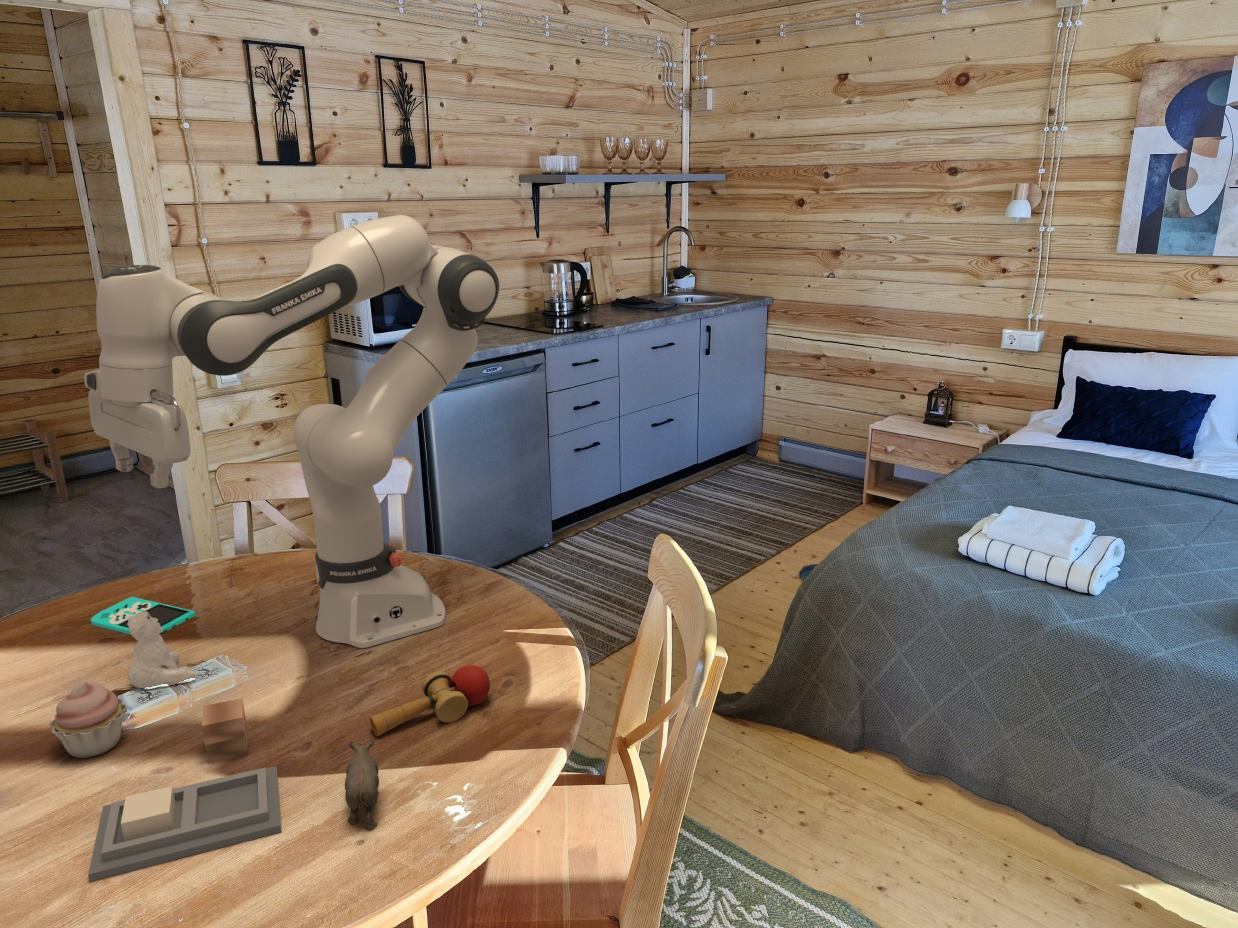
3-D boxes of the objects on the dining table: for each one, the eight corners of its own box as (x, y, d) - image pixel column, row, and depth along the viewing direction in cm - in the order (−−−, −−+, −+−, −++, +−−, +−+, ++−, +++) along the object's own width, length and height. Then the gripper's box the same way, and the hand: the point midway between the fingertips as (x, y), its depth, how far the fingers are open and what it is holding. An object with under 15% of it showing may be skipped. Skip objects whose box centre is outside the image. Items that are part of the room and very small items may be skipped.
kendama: (388, 759, 118) (503, 702, 127) (376, 719, 116) (493, 664, 125) (372, 739, 124) (482, 687, 133) (360, 701, 123) (472, 650, 132)
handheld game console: (134, 601, 160) (132, 594, 160) (198, 616, 155) (197, 609, 154) (85, 625, 151) (83, 618, 151) (151, 642, 146) (150, 634, 145)
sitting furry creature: (200, 680, 134) (189, 612, 130) (141, 703, 128) (128, 632, 124) (177, 658, 140) (165, 593, 136) (119, 679, 134) (106, 611, 130)
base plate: (277, 772, 113) (273, 746, 111) (281, 831, 102) (277, 804, 101) (104, 812, 105) (98, 785, 104) (89, 881, 95) (83, 852, 93)
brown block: (247, 734, 121) (242, 697, 119) (248, 754, 116) (242, 717, 114) (209, 742, 119) (203, 705, 117) (208, 764, 114) (201, 725, 112)
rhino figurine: (379, 759, 115) (376, 721, 114) (381, 828, 103) (378, 787, 101) (348, 764, 114) (344, 726, 113) (346, 835, 102) (342, 793, 100)
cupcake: (77, 775, 112) (63, 709, 109) (42, 751, 117) (27, 687, 113) (147, 738, 119) (135, 676, 116) (111, 717, 124) (98, 657, 121)
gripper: (201, 396, 115) (203, 492, 119) (123, 369, 126) (128, 458, 130) (154, 401, 110) (158, 501, 114) (77, 372, 121) (84, 465, 124)
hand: (142, 478), depth 122 cm, fingers open, 8 cm apart
